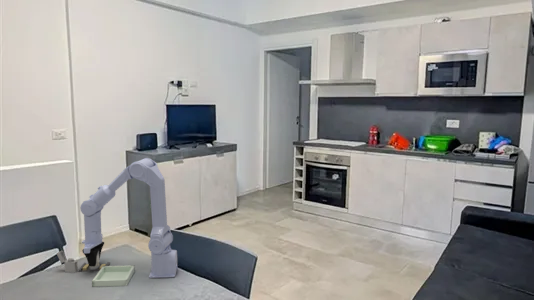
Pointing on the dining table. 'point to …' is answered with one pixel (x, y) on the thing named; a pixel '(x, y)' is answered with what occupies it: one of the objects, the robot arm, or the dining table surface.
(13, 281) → the dining table surface
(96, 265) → the fuse
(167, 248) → the robot arm
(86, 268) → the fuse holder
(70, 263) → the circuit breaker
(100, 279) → the tray
